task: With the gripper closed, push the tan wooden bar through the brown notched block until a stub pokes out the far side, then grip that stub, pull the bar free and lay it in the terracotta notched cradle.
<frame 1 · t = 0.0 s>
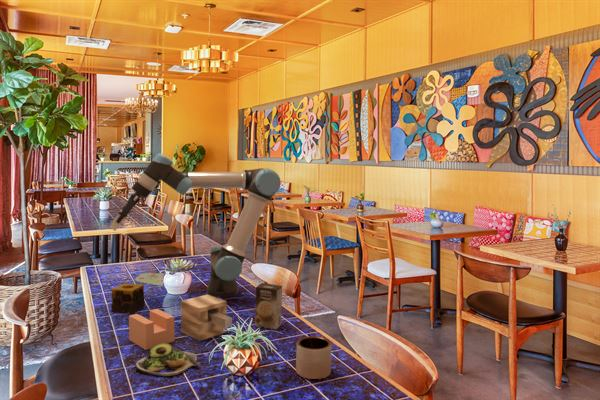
hand: (113, 226, 194), 36 cm above the table, tool tilted 35°, fingers open, 13 cm apart
coffee box: (268, 326, 182), on the table
tan wooden bar: (210, 319, 171), point 6 cm above the table, touching brown notched block
planter: (313, 373, 143), on the table
dark brown holed cube: (128, 310, 199), on the table
cradle: (151, 340, 165), on the table
salad plate: (166, 365, 147), on the table
brown notched block: (203, 332, 174), on the table
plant: (156, 280, 248), on the table
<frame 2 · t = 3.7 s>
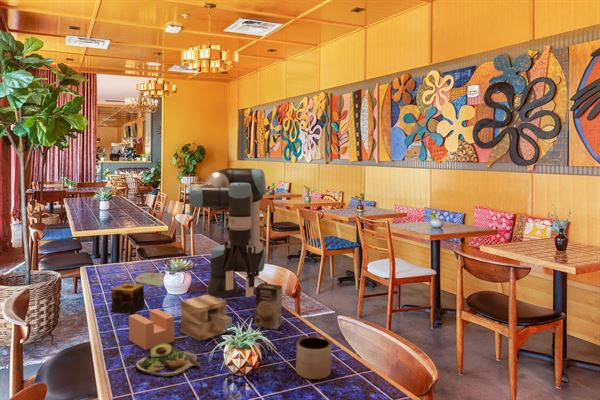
hand: (239, 292, 158), 20 cm above the table, tool pointing down, fingers open, 10 cm apart
nothing on the table moved.
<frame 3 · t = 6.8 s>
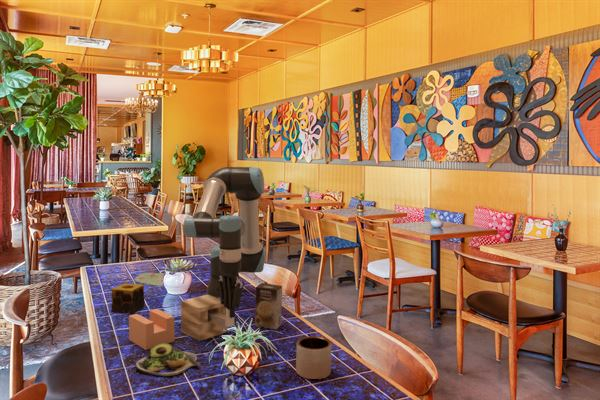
hand: (229, 325, 163), 7 cm above the table, tool pointing down, fingers closed
tan wooden bar: (209, 319, 171), point 6 cm above the table, touching gripper
everything else where it was.
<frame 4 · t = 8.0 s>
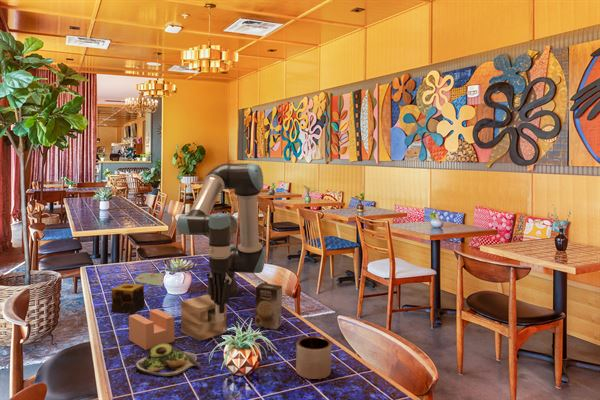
hand: (219, 320, 167), 7 cm above the table, tool pointing down, fingers closed
tan wooden bar: (200, 315, 175), point 6 cm above the table, touching brown notched block, gripper
everything else where it was.
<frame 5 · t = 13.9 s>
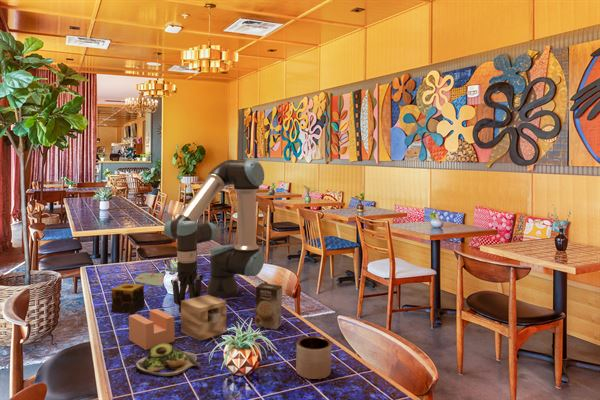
hand: (187, 319, 182), 2 cm above the table, tool pointing down, fingers closed on tan wooden bar, 3 cm apart
tan wooden bar: (199, 314, 176), point 6 cm above the table, touching gripper
everything else where it was.
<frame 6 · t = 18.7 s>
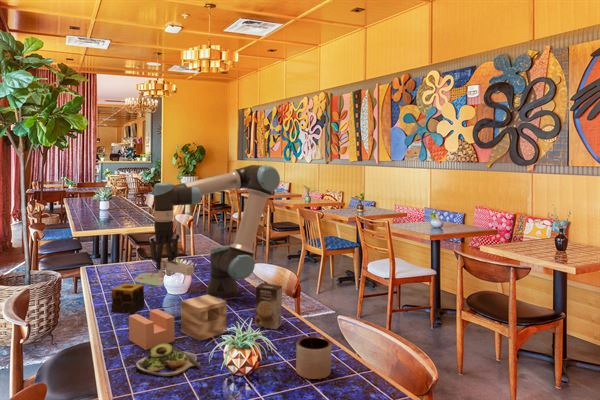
hand: (164, 276, 192), 16 cm above the table, tool pointing down, fingers closed on tan wooden bar, 3 cm apart
tan wooden bar: (175, 270, 186), point 20 cm above the table, touching gripper
everything else where it was.
when the fingers open (3 cm above the table, at t = 23.8 s): tan wooden bar drops 2 cm, resting on cradle.
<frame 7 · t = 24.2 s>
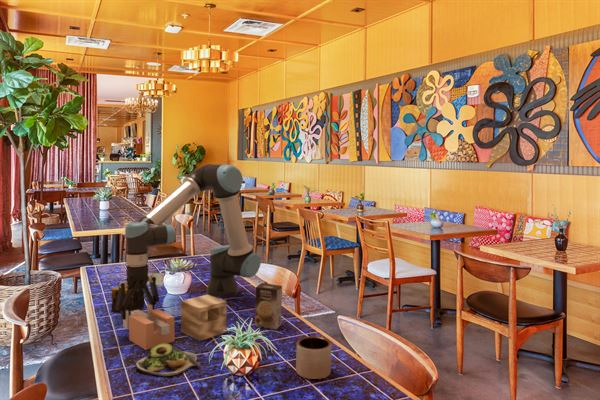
hand: (138, 324, 172), 3 cm above the table, tool pointing down, fingers open, 9 cm apart
tan wooden bar: (149, 325, 166), point 5 cm above the table, touching cradle
everything else where it was.
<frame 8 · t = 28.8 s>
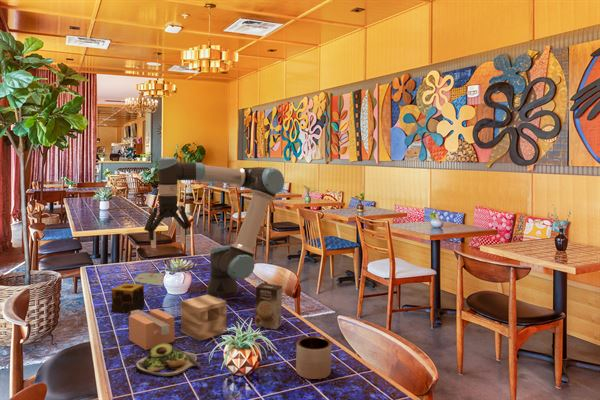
hand: (168, 245, 192), 29 cm above the table, tool pointing down, fingers open, 13 cm apart
nothing on the table moved.
at the end: tan wooden bar inside the target area on the cradle (0.8 cm from its centre), point 5.0 cm above the cradle's base; tan wooden bar touching cradle; the gripper is holding nothing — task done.
